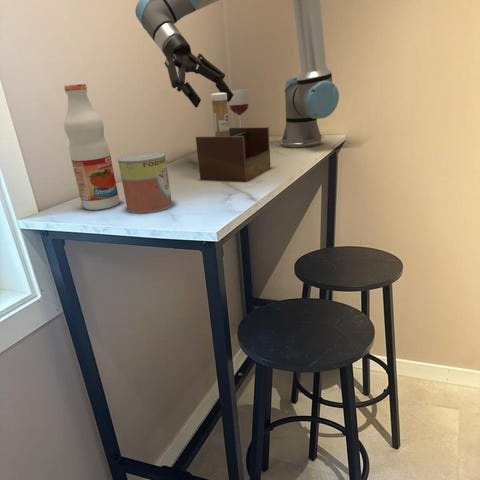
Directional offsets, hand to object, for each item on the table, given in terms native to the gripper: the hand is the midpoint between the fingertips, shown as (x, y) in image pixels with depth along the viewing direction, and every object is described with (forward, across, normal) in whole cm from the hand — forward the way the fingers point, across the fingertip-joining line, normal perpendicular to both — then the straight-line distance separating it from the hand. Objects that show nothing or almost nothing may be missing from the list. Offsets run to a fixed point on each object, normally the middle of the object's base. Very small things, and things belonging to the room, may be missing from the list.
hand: (215, 101), depth 134 cm
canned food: (+21, +36, -8) cm, 43 cm away
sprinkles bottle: (+10, 0, -7) cm, 12 cm away
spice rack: (+18, -1, -11) cm, 21 cm away
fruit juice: (+12, +42, -17) cm, 47 cm away
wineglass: (-7, -44, -36) cm, 57 cm away
